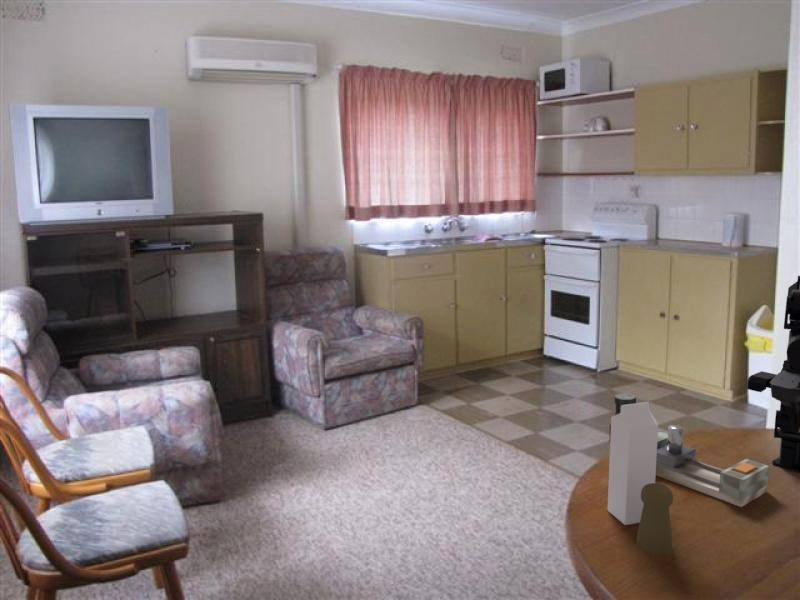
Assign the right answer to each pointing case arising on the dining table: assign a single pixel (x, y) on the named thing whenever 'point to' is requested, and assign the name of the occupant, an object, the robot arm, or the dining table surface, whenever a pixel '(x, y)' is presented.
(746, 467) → the orange block
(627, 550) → the dining table surface
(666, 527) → the olive pawn
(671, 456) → the carriage
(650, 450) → the milk
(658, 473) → the rail track
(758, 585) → the dining table surface
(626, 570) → the dining table surface
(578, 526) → the dining table surface
